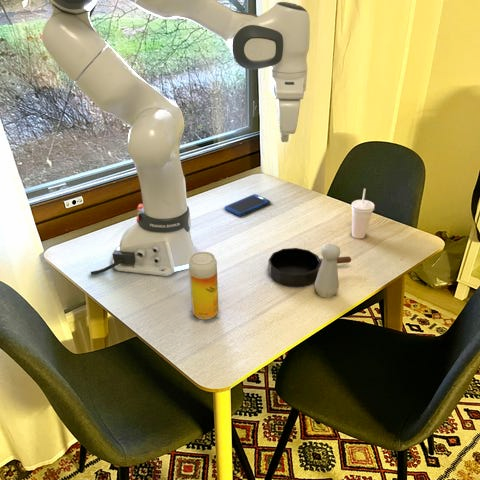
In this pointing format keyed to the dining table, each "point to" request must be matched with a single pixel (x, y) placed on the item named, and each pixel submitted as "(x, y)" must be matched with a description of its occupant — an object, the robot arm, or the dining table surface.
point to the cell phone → (247, 205)
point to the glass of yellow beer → (203, 285)
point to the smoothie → (361, 216)
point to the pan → (296, 267)
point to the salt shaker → (328, 272)
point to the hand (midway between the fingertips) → (284, 140)
